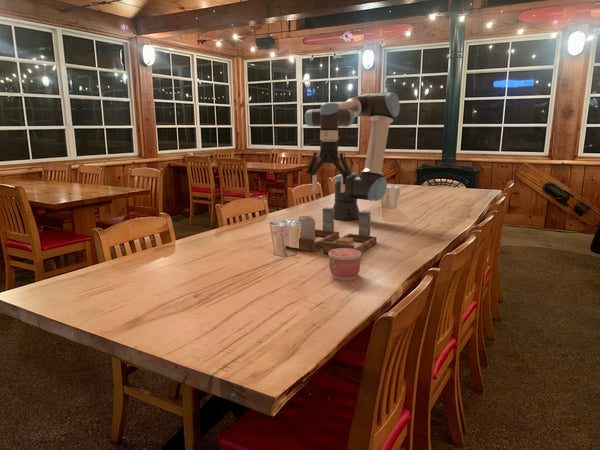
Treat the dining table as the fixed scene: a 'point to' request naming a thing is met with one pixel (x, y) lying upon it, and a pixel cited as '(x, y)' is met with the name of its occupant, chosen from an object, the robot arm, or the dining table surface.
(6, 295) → the dining table surface
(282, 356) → the dining table surface
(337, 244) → the lane
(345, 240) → the cube
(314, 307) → the dining table surface
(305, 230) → the can
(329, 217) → the frame
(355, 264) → the container
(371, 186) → the robot arm
